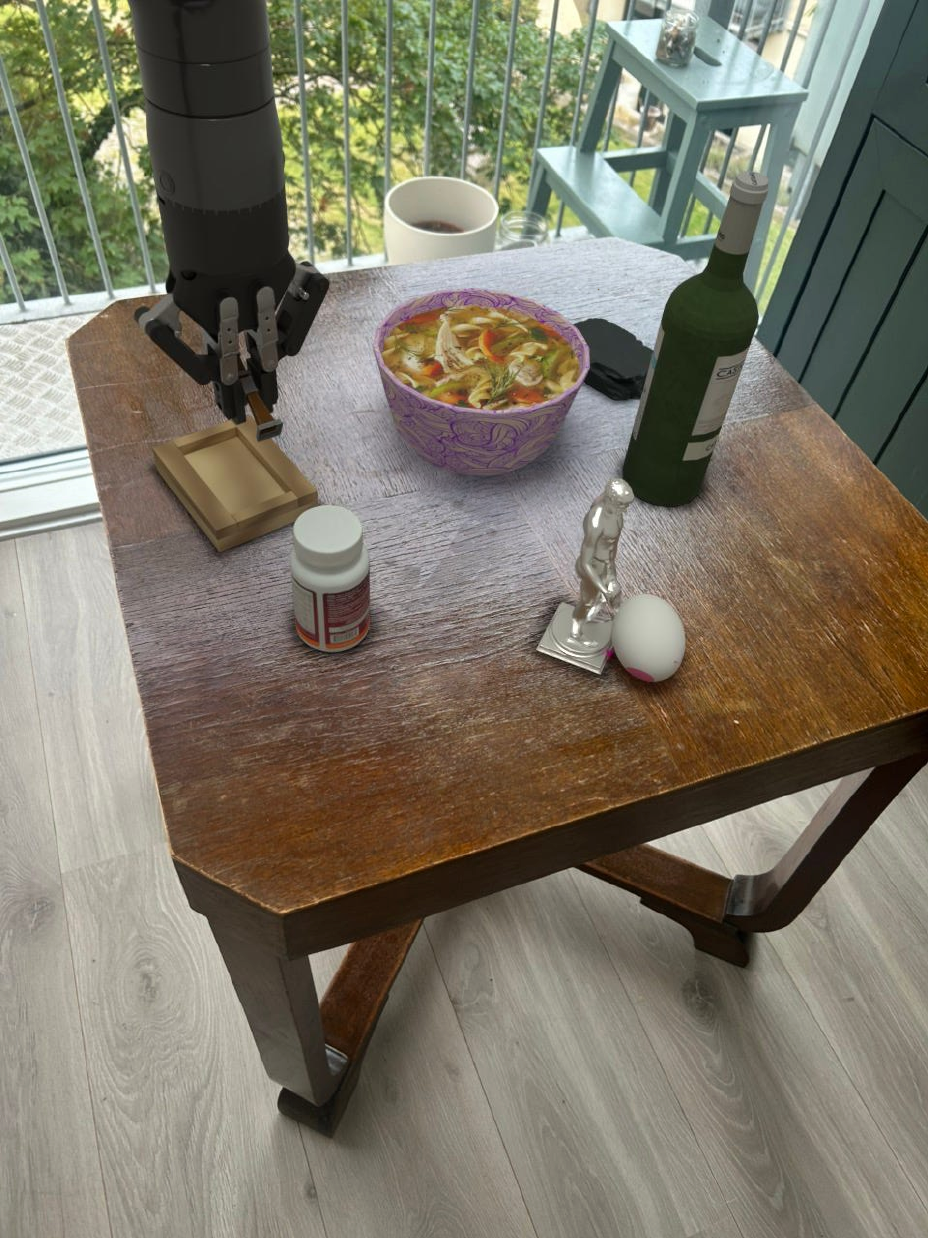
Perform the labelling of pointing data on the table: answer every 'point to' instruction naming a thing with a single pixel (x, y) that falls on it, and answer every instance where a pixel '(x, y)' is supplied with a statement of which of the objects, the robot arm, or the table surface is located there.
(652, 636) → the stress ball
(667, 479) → the wine bottle
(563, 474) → the table surface
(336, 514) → the pill bottle
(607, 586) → the figurine
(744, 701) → the table surface
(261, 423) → the wooden post with brackets
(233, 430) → the holder
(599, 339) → the stone
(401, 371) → the bowl of food
